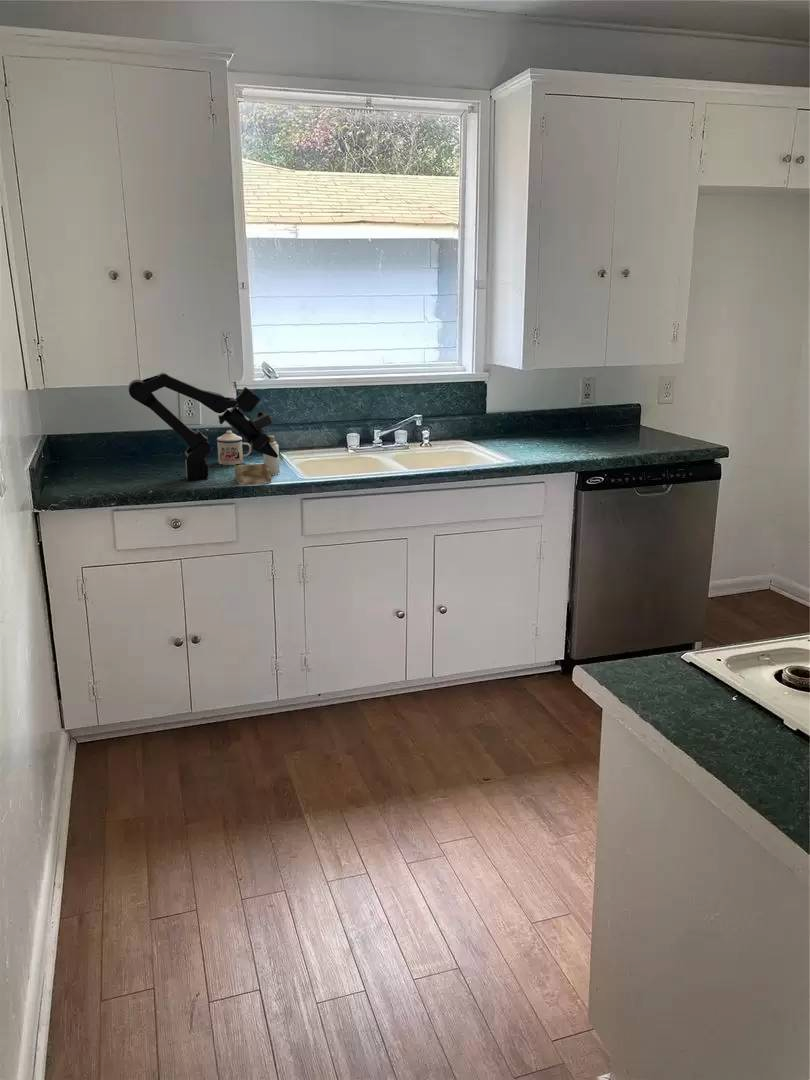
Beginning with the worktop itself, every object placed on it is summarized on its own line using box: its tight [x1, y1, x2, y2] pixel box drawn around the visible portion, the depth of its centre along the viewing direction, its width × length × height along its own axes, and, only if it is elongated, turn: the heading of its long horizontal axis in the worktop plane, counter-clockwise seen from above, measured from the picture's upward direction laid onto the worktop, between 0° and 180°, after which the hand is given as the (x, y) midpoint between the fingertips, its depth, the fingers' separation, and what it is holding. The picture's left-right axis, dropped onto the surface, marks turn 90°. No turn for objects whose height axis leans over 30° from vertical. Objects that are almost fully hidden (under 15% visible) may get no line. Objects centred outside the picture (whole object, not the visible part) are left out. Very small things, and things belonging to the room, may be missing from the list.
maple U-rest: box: [234, 463, 272, 486], centre depth 273 cm, size 10×10×4 cm
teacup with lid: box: [216, 430, 252, 466], centre depth 298 cm, size 12×9×12 cm
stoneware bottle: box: [262, 435, 281, 476], centre depth 282 cm, size 5×5×13 cm
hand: (275, 454), depth 282 cm, fingers open, 9 cm apart
